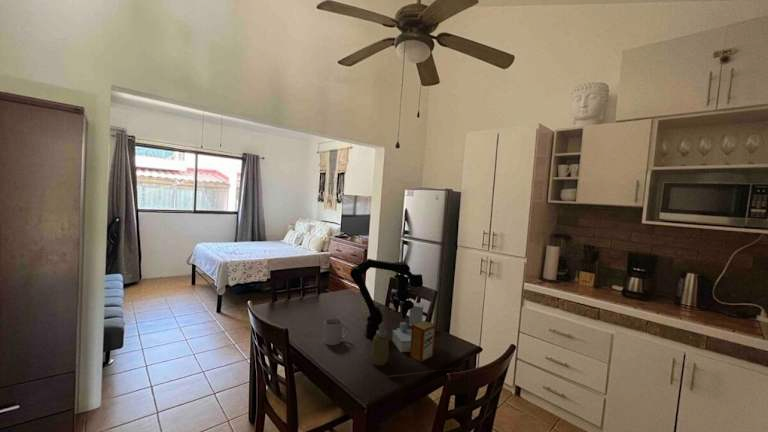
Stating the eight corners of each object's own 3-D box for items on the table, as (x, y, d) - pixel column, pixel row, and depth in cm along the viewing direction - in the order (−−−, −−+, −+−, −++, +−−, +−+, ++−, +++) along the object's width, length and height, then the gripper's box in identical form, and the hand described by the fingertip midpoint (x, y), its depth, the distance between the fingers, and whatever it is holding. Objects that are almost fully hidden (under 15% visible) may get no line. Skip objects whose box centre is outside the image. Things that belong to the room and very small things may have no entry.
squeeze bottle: (369, 358, 141) (372, 319, 140) (387, 358, 141) (390, 320, 141) (370, 368, 133) (373, 327, 132) (389, 368, 133) (392, 327, 132)
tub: (400, 353, 147) (401, 343, 147) (392, 341, 159) (393, 332, 159) (419, 351, 151) (420, 341, 150) (410, 340, 162) (410, 331, 162)
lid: (401, 342, 147) (402, 333, 147) (391, 330, 161) (391, 321, 160) (421, 341, 150) (422, 331, 150) (409, 328, 164) (410, 319, 164)
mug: (319, 342, 152) (321, 322, 152) (330, 335, 161) (331, 316, 161) (339, 348, 148) (340, 327, 148) (348, 340, 157) (349, 321, 157)
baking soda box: (422, 351, 151) (424, 319, 150) (433, 357, 146) (435, 324, 145) (409, 357, 144) (412, 324, 143) (420, 363, 139) (423, 329, 139)
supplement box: (421, 329, 178) (422, 307, 177) (408, 327, 179) (410, 305, 179) (422, 324, 185) (423, 303, 184) (409, 322, 186) (411, 301, 186)
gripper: (424, 291, 157) (421, 321, 158) (408, 281, 175) (406, 308, 175) (404, 292, 153) (401, 322, 154) (390, 281, 171) (388, 309, 172)
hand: (400, 315), depth 164 cm, fingers open, 9 cm apart
